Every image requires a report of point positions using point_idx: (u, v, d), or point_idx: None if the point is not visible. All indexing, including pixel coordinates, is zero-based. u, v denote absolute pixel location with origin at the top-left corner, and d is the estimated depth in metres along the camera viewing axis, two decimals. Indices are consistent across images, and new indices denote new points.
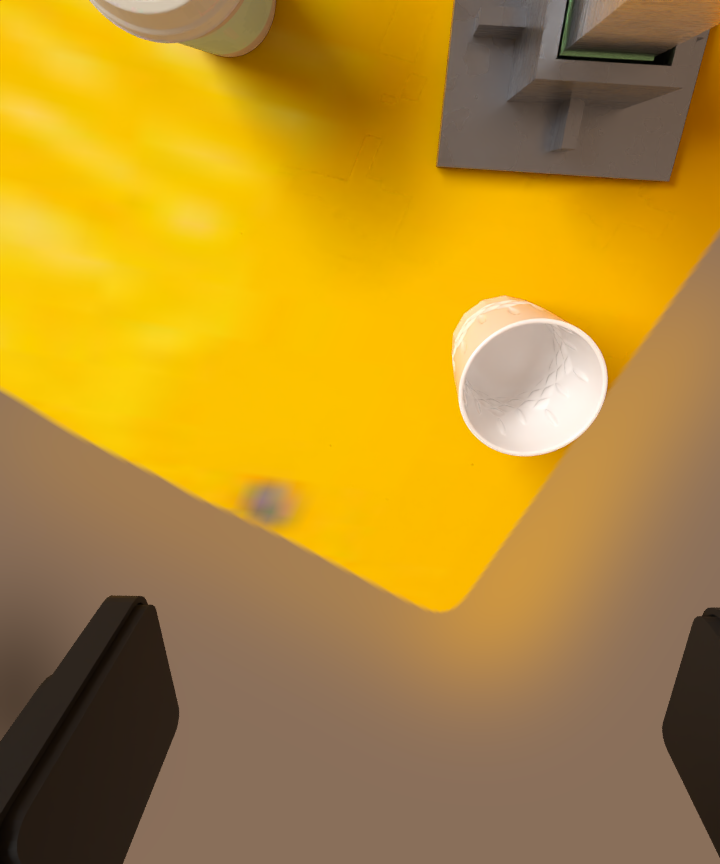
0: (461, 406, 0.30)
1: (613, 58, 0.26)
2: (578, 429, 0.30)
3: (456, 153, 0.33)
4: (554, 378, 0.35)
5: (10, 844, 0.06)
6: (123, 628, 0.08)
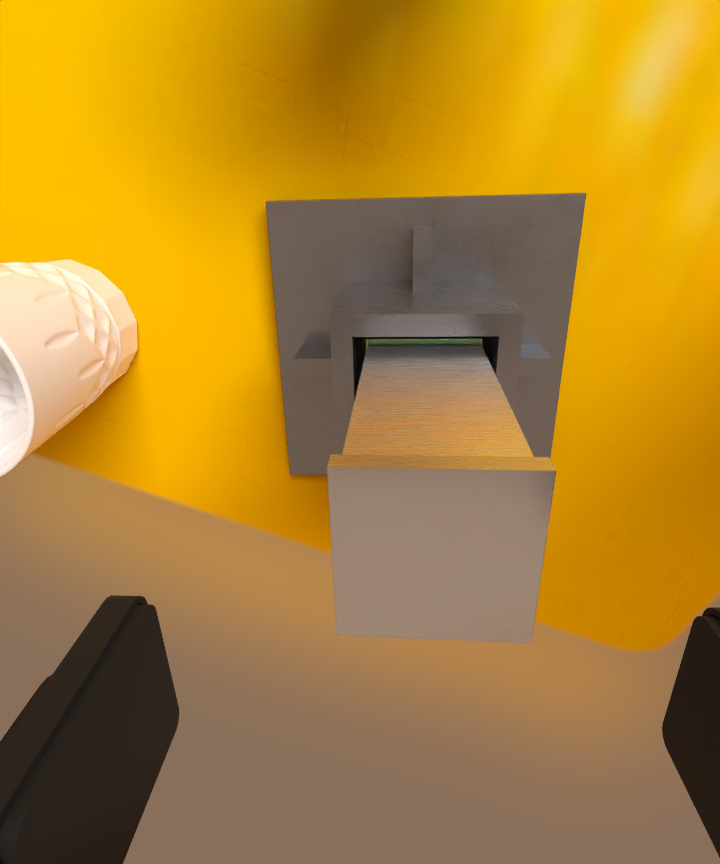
0: None
1: None
2: None
3: (284, 226, 0.25)
4: (27, 406, 0.26)
5: (9, 844, 0.06)
6: (123, 628, 0.08)
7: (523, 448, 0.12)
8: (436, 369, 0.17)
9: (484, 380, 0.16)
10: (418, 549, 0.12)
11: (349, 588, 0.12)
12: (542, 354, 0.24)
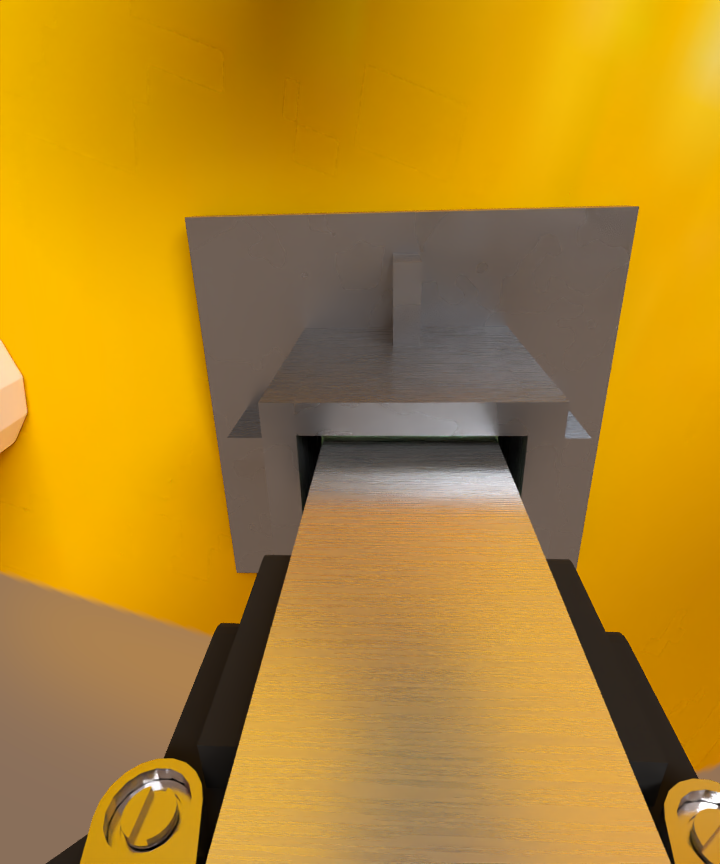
0: None
1: None
2: None
3: (212, 252, 0.18)
4: None
5: None
6: None
7: (643, 835, 0.05)
8: (429, 507, 0.10)
9: (514, 543, 0.09)
10: None
11: None
12: (575, 431, 0.17)
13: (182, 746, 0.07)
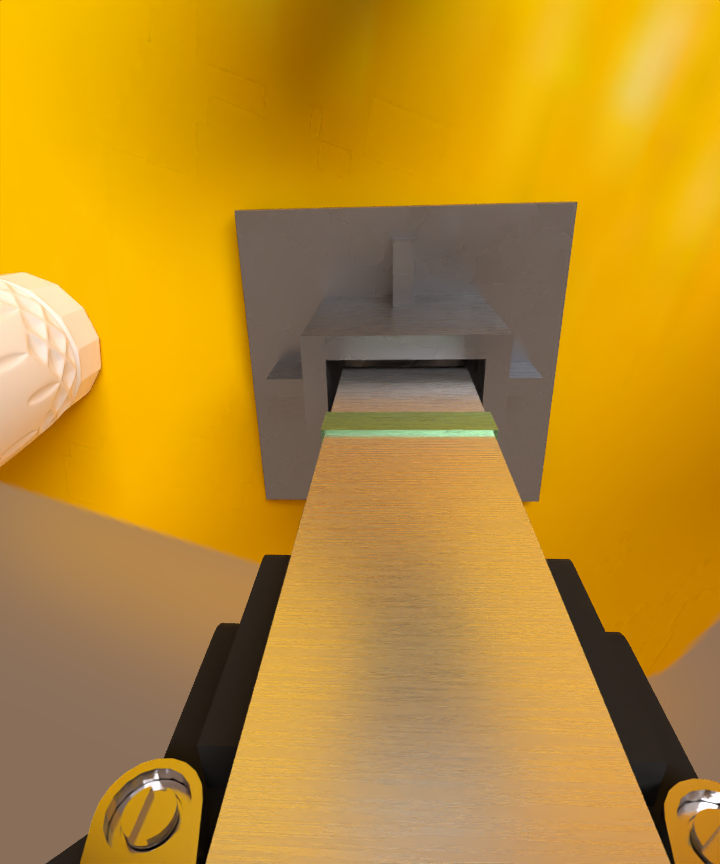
0: None
1: None
2: None
3: (254, 237, 0.23)
4: None
5: None
6: None
7: (643, 835, 0.05)
8: (429, 508, 0.10)
9: (514, 543, 0.09)
10: None
11: None
12: (532, 373, 0.23)
13: (182, 746, 0.07)
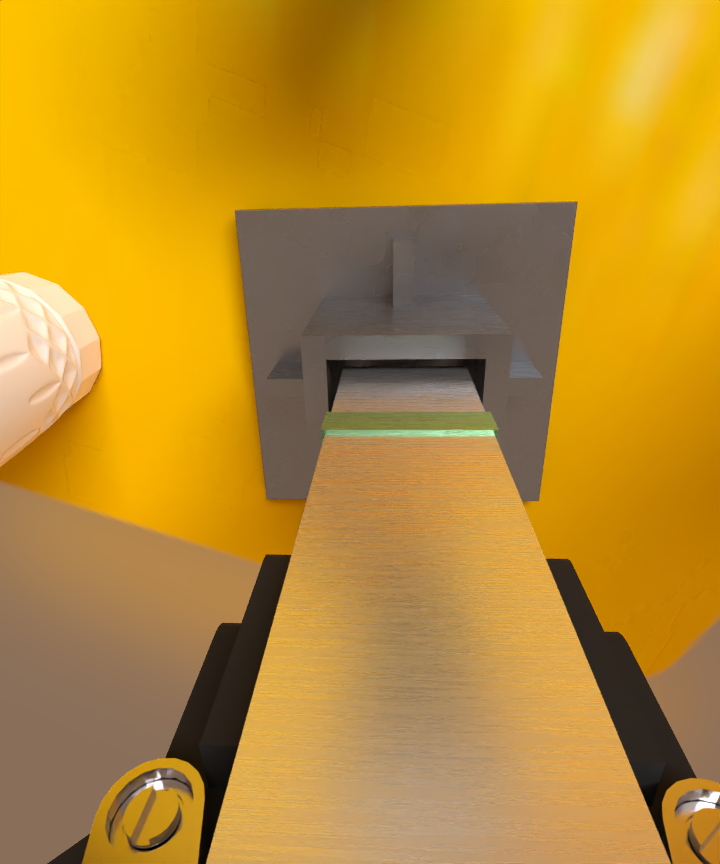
0: None
1: None
2: None
3: (255, 237, 0.23)
4: None
5: None
6: None
7: (643, 834, 0.05)
8: (429, 507, 0.10)
9: (515, 542, 0.09)
10: None
11: None
12: (532, 373, 0.23)
13: (184, 746, 0.07)
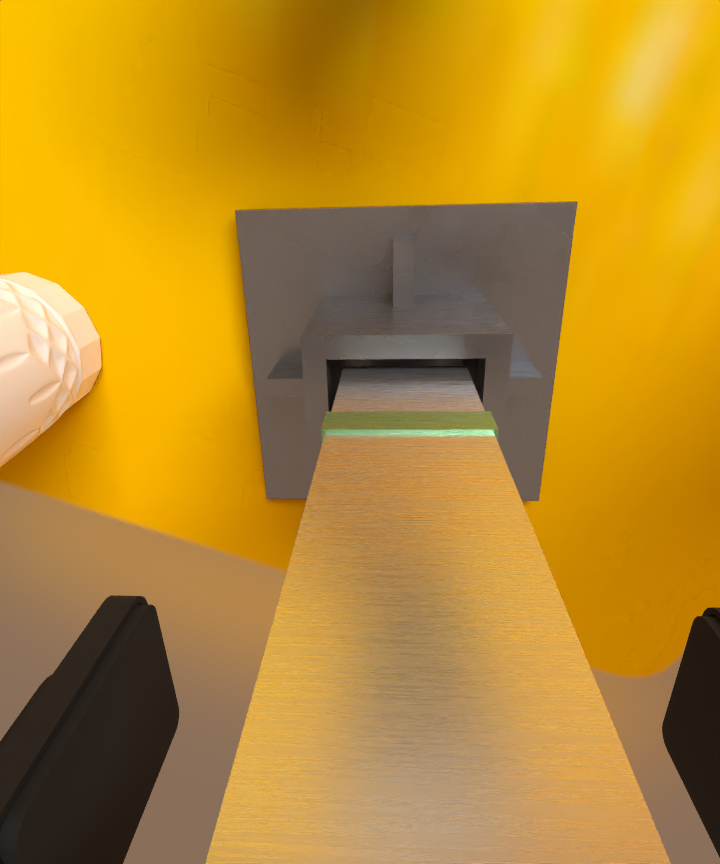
0: None
1: None
2: None
3: (255, 237, 0.23)
4: None
5: (9, 844, 0.06)
6: (123, 628, 0.08)
7: (642, 833, 0.05)
8: (429, 507, 0.10)
9: (515, 542, 0.09)
10: None
11: None
12: (532, 373, 0.23)
13: None
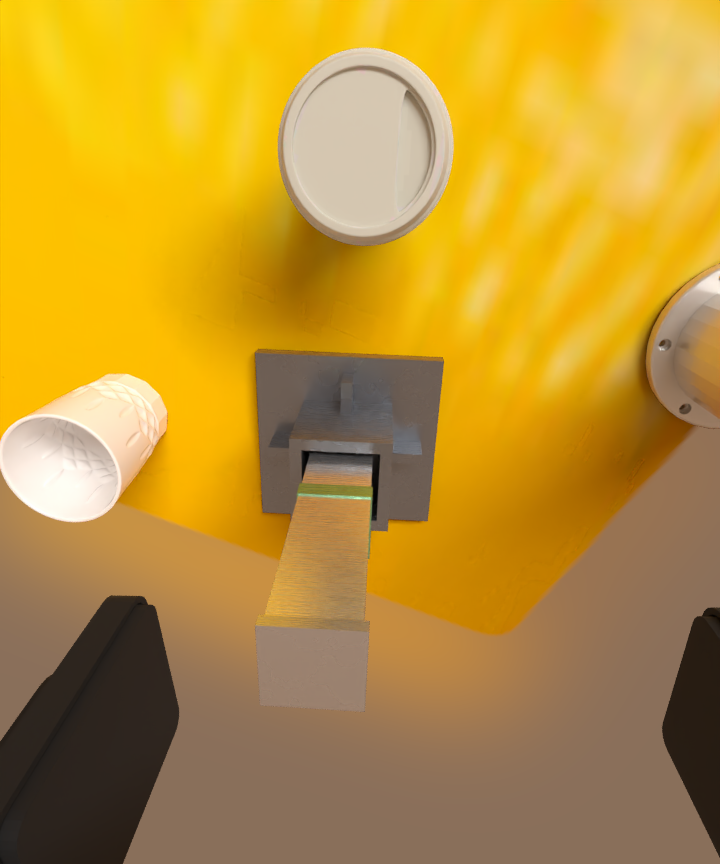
0: (29, 417, 0.33)
1: None
2: (39, 507, 0.36)
3: (265, 367, 0.41)
4: (96, 467, 0.41)
5: (9, 844, 0.06)
6: (123, 628, 0.08)
7: (361, 610, 0.23)
8: (334, 531, 0.28)
9: (360, 545, 0.27)
10: (302, 664, 0.23)
11: (266, 681, 0.23)
12: (417, 451, 0.41)
13: None
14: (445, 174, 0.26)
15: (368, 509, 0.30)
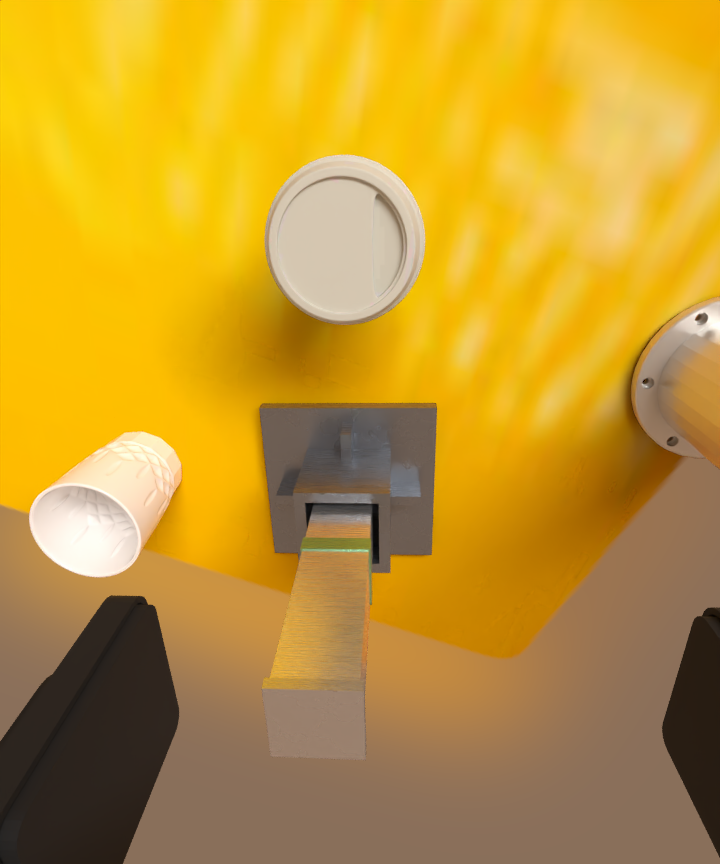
0: (55, 486, 0.36)
1: None
2: (68, 564, 0.39)
3: (269, 420, 0.43)
4: (118, 521, 0.45)
5: (10, 844, 0.06)
6: (123, 628, 0.08)
7: (357, 669, 0.25)
8: (334, 587, 0.31)
9: (357, 601, 0.30)
10: (306, 720, 0.25)
11: (275, 736, 0.26)
12: (416, 493, 0.43)
13: None
14: (418, 261, 0.28)
15: (366, 562, 0.33)
